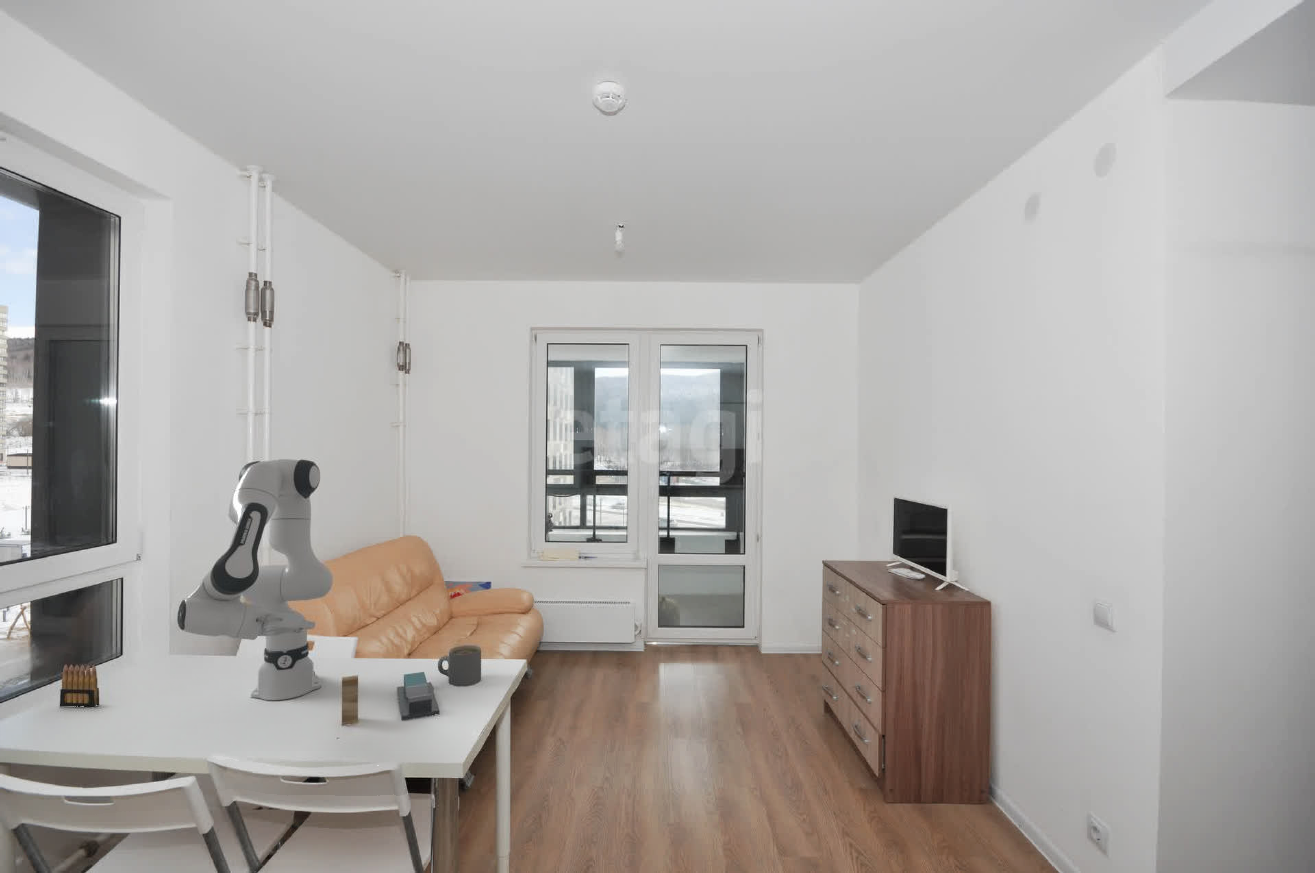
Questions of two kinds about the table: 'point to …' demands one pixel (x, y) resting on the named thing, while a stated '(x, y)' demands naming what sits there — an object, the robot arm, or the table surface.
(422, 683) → the block
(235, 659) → the table surface
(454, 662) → the coffee mug
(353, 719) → the oak block
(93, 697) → the ammunition clip
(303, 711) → the table surface
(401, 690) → the vise
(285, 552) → the robot arm
